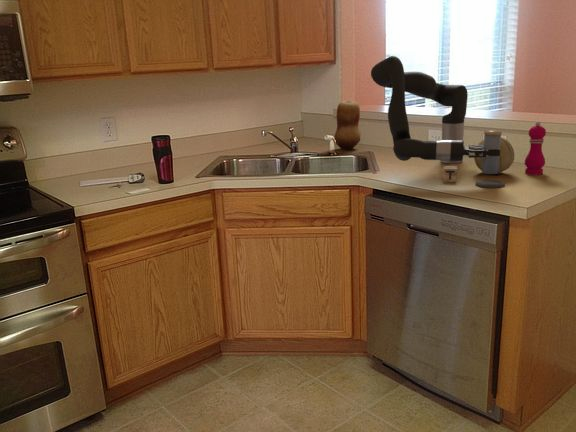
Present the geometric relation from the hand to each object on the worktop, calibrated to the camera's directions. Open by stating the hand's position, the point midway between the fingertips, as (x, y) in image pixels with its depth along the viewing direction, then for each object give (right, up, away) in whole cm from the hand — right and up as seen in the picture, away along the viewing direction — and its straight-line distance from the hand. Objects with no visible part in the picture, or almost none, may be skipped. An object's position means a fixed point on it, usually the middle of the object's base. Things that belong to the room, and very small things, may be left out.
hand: (499, 151), depth 189 cm
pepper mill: (+21, -7, +19) cm, 29 cm away
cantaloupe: (+6, -6, +22) cm, 24 cm away
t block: (-13, -9, +15) cm, 22 cm away
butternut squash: (-43, +12, +94) cm, 104 cm away
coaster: (-2, -12, +4) cm, 12 cm away
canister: (-2, -7, +3) cm, 8 cm away
